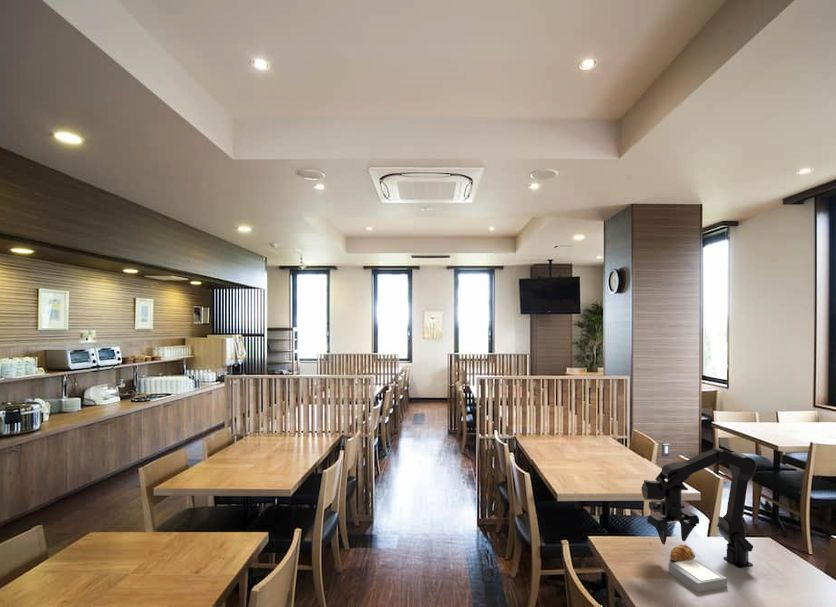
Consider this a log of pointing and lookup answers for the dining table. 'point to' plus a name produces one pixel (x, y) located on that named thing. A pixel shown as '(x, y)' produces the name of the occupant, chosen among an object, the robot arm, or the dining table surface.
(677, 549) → the pastry
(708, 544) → the dining table surface
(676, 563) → the plinth
